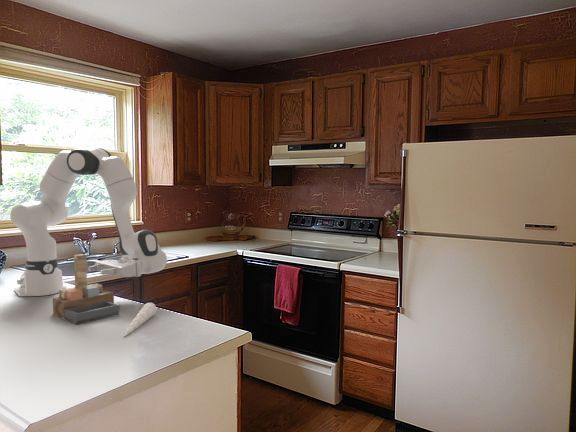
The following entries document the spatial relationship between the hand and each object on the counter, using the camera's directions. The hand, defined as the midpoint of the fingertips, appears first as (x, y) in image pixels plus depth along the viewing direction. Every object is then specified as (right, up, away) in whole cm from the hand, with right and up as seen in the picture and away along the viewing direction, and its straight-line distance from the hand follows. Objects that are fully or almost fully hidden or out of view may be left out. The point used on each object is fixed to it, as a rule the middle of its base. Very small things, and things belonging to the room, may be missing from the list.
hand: (95, 270), depth 166 cm
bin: (+4, -15, -12) cm, 19 cm away
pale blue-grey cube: (+1, -8, -5) cm, 10 cm away
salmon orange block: (-3, -9, -10) cm, 13 cm away
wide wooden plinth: (-2, -14, -5) cm, 15 cm away
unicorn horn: (+23, -16, -20) cm, 34 cm away
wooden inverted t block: (-3, -8, -4) cm, 10 cm away
